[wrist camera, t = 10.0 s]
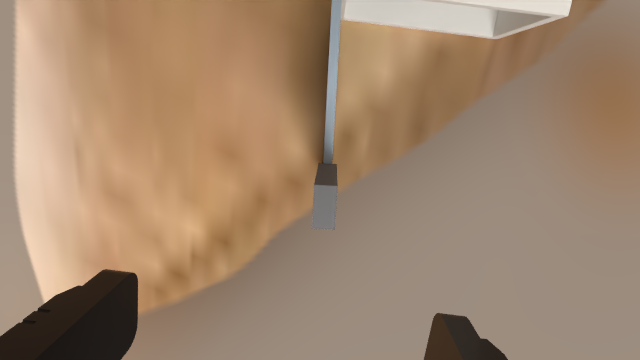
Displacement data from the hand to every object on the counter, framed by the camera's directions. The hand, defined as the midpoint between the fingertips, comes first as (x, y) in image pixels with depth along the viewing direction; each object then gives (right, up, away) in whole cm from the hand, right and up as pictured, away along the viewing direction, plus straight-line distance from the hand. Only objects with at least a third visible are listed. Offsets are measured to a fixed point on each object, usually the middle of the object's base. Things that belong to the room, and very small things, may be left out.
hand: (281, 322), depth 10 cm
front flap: (+2, +11, +24) cm, 26 cm away
